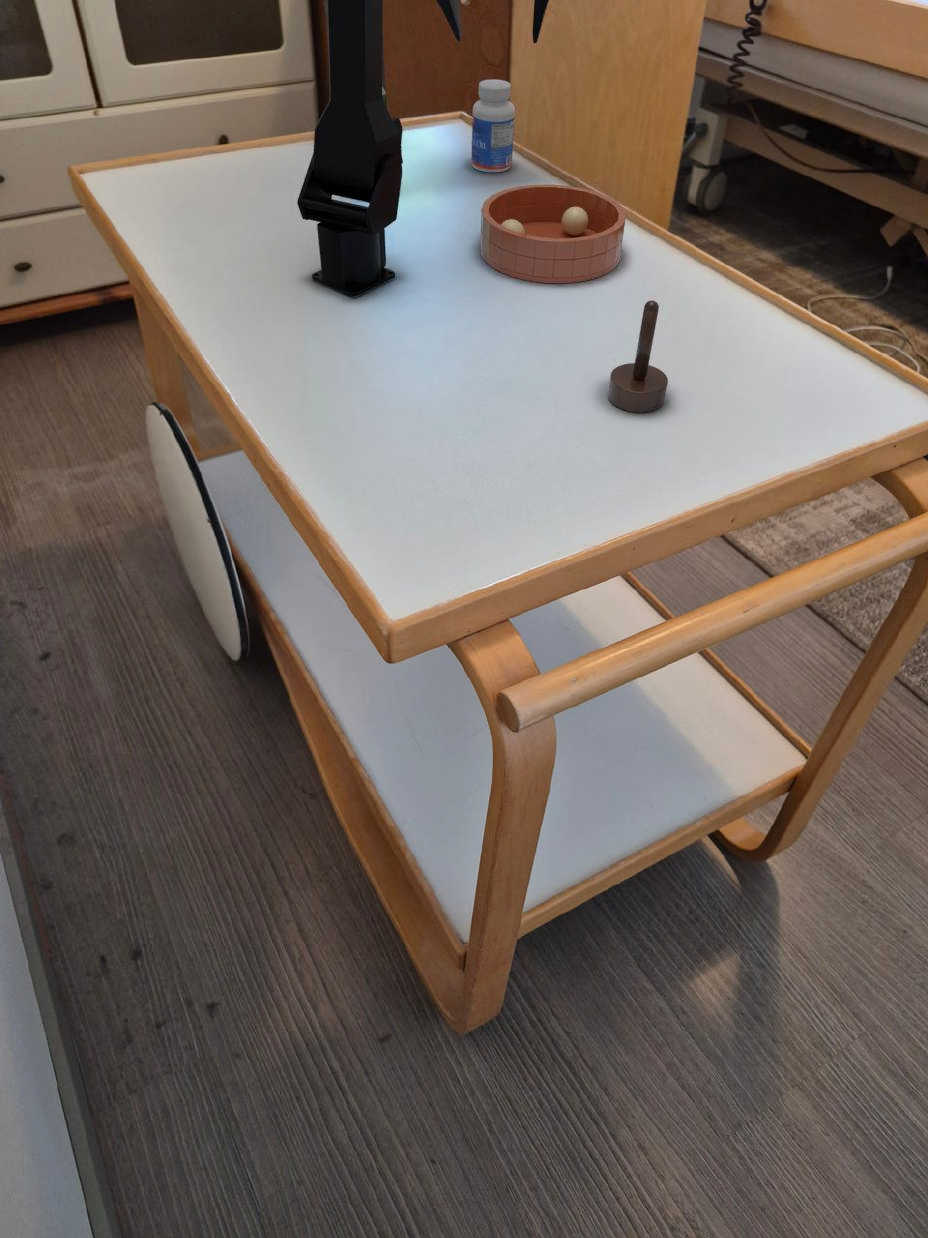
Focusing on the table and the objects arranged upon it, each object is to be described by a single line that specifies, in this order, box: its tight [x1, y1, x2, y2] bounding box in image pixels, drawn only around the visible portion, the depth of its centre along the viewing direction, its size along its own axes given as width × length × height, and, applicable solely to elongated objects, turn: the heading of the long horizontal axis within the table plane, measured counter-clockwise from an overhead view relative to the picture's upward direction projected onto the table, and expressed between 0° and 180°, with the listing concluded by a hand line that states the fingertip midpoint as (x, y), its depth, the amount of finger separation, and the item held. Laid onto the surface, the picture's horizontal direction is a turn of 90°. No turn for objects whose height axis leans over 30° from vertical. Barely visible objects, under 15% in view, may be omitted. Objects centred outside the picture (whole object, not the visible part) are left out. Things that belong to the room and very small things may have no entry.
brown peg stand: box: [607, 299, 669, 414], centre depth 77 cm, size 5×5×9 cm
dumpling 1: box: [501, 219, 525, 234], centre depth 99 cm, size 3×3×3 cm
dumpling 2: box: [562, 207, 588, 236], centre depth 102 cm, size 3×3×3 cm
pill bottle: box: [470, 78, 516, 173], centre depth 116 cm, size 6×5×10 cm
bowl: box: [479, 183, 627, 284], centre depth 100 cm, size 16×16×4 cm
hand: (497, 40), depth 107 cm, fingers open, 9 cm apart
